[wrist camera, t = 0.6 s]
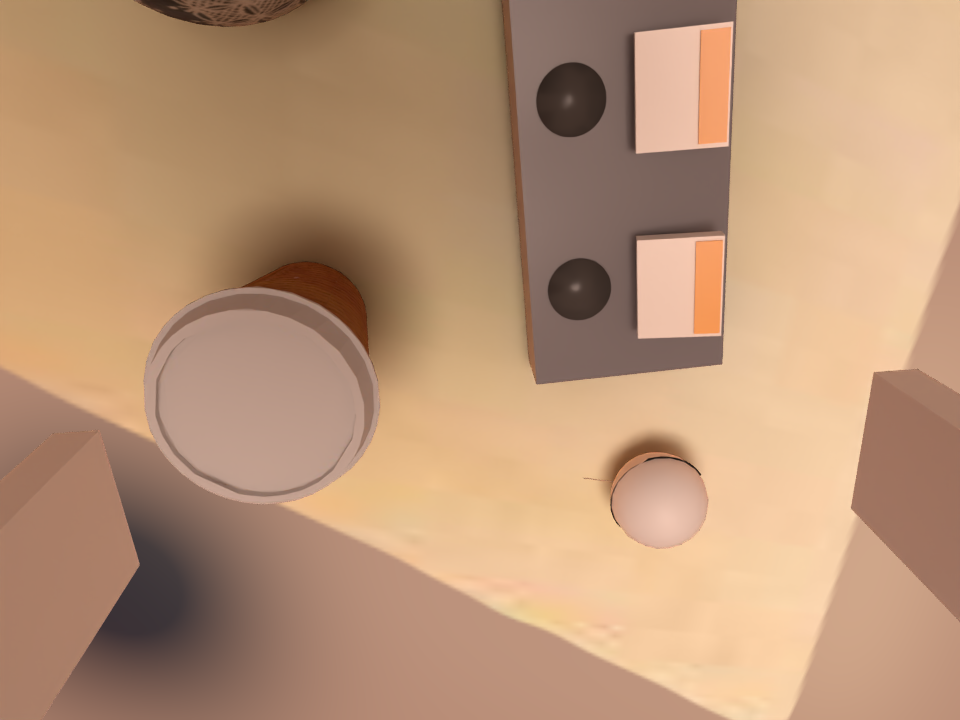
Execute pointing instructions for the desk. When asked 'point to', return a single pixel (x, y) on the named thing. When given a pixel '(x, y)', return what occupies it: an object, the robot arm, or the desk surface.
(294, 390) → the disposable coffee cup
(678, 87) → the middle rocker
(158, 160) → the desk surface
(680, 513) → the white ball
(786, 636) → the desk surface
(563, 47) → the power strip
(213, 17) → the decorative egg
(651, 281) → the rocker
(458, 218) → the desk surface
